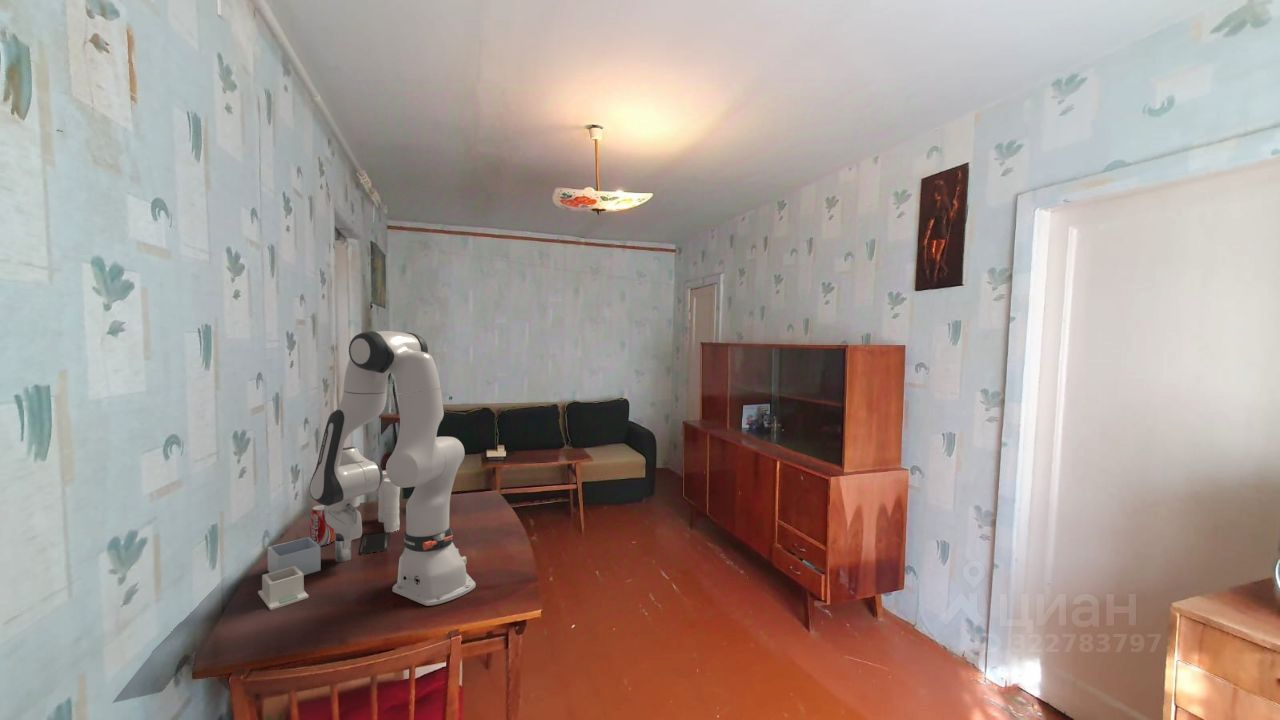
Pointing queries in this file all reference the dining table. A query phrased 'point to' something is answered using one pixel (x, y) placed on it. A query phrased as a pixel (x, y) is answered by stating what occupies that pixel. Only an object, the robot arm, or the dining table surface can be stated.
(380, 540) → the phone
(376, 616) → the dining table surface
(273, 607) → the white holder
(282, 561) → the light blue open box
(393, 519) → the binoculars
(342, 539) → the cell
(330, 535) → the soda can
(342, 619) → the dining table surface
